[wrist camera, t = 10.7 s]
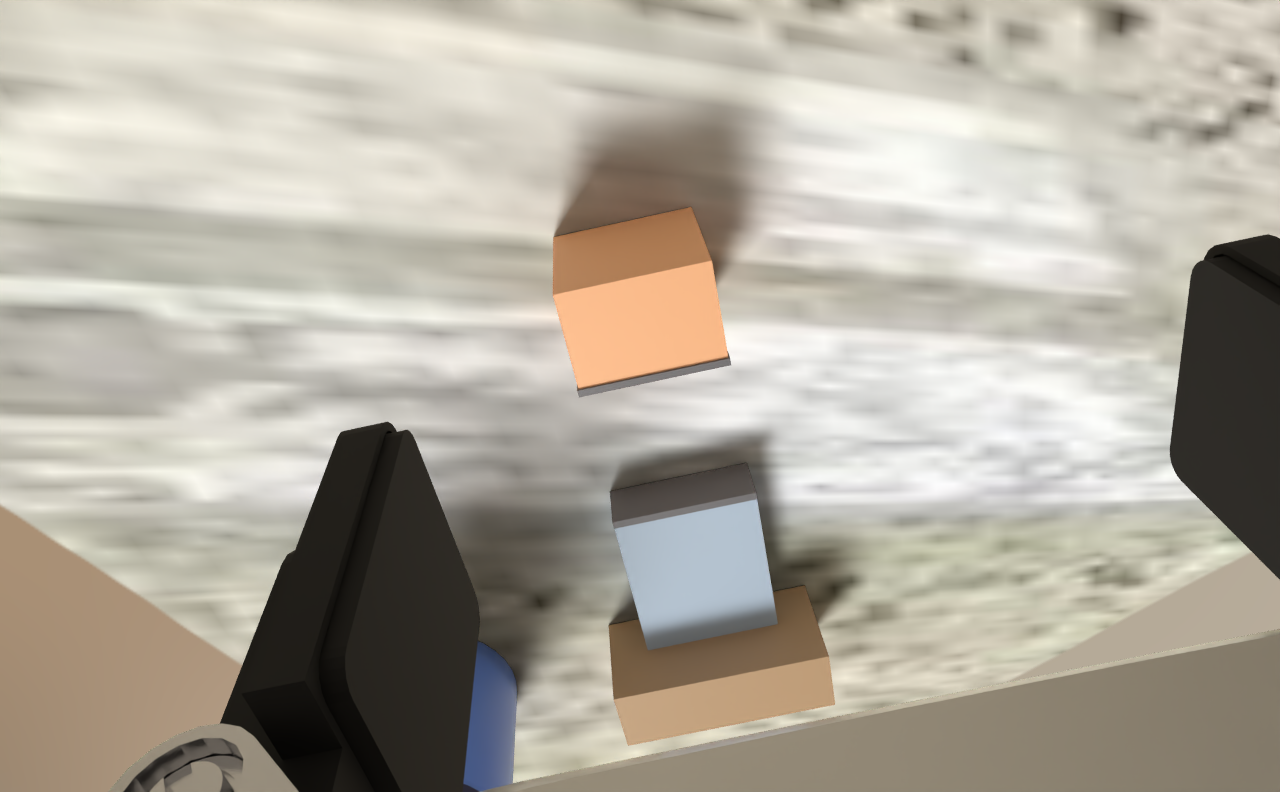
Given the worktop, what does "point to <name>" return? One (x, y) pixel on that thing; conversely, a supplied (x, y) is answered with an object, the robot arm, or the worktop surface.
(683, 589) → the tan blue stepped block
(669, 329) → the stub
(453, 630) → the robot arm
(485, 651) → the water bottle
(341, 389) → the worktop surface
